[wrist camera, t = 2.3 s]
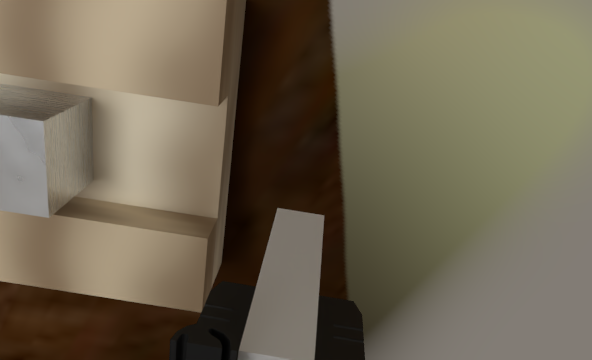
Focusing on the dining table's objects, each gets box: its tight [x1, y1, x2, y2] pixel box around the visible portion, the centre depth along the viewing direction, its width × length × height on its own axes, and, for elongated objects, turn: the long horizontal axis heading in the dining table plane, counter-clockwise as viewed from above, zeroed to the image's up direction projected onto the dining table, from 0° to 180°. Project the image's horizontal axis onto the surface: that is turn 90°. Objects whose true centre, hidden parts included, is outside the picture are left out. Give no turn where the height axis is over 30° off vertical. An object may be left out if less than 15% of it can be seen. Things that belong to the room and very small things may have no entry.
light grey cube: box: [0, 84, 94, 218], centre depth 21 cm, size 4×4×4 cm
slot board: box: [0, 0, 246, 312], centre depth 23 cm, size 16×14×4 cm
